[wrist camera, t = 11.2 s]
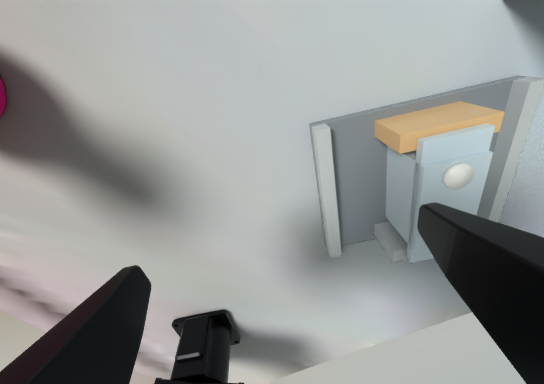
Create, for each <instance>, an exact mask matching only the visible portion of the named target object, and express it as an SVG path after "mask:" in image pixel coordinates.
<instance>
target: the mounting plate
mask: <svg viewBox="0 0 544 384" xmlns="http://www.w3.org/2000/svg"><path fill="white" fill-rule="evenodd" d="M543 88H544V78H537V77H526V76H514V77H509V78H505V79H501V80H496V81H492V82H488V83H483V84H479V85H475V86H471V87H466V88H462V89H458V90H453V91H449V92H445V93H440V94H436V95H432V96H427V97H423V98H419V99H414V100H410V101H406V102H401V103H397V104H393V105H388V106H384V107H380V108H375V109H371V110H367V111H362V112H358V113H354V114H349V115H345V116H341V117H337V118H332V119H328V120H324V121H319V122H315V123H311V124H309V125H310V133H311V140H312V148H313V155H314V163H315V170H316V178H317V185H318V193H319V200H320V208H321V215H322V223H323V230H324V238H325V244H326V247H327V249H328V252H329V254H330V257H331V258H334V257H339V256H342V254H341V246H344V245H348V244H353V243H358V242H363V241H368V240H373V239H378V241H379V242H380V244H381V245H382V247H383V248H384V250H385V251H386V253H387V254H388V256H389V257H390V259H391V261H392V262H398V261H403V260H408V259H407V258H406V256H407V246H408V244H407V242H406V241H405V240H404V239H403V237H402V236H401V235H400V234H399V232H398V231H397V230H396V229H395V228H394V226H393V225H392V224H391V223H390V221H389V220H388V219H387V218H386V216H385V215H386V180H387V146H389V147H390V148H392V149H393V150H395V151H396V152H397V153H399V154H401V153H406V152H410V151H415V150H417V139H419V138H423V137H427V136H432V135H436V134H441V133H445V132H449V131H454V130H458V129H463V128H467V127H471V126H476V125H480V124H484V123H488V124H491V125H494V126H495V129H494V132H493V136H492V140H491V144H490V148H489V151H491V152H493V155H492V159H491V162H490V166H489V170H488V174H487V177H486V181H485V185H484V189H483V192H482V196H481V200H480V204H479V207H478V211H477V215H476V216H479V217H482V218H485V219H488V220H492V221H495V222H499V219H500V216H501V213H502V210H503V207H504V204H505V201H506V198H507V195H508V192H509V189H510V186H511V183H512V180H513V177H514V174H515V171H516V168H517V165H518V162H519V160H520V157H521V154H522V151H523V148H524V145H525V142H526V139H527V136H528V133H529V130H530V127H531V124H532V121H533V118H534V115H535V112H536V109H537V106H538V103H539V100H540V97H541V94H542V91H543Z"/></svg>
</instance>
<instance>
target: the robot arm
mask: <svg viewBox="0 0 544 384" xmlns="http://www.w3.org/2000/svg"><path fill="white" fill-rule="evenodd" d="M417 229H418V232H419V234H420V236H421V237H422V239H423V241H424V242H425V244H426V245H427V247H428V249H429V250H430V252H431V254H432V255H433V257H434V259H435V260H436V262H437V264H438V265H439V267H440V269H441V270H442V272H443V273H444V275H445V276H446V278H447V279H448V281H449V282H450V283H451V285H452V286H453V287H454V289H455V290H456V291H457V293H458V294H459V295H460V297H461V298H462V299H463V300H464V302H465V303H466V304H467V306H468V307H469V308H470V310H471V311H472V312H473V314H474V315H475V316H476V317H477V319H478V320H479V321H480V323H481V324H482V325H483V327H484V328H485V329H486V331H487V332H488V333H489V335H490V336H491V337H492V339H493V340H494V341H495V343H496V344H497V345H498V347H499V348H500V349H501V351H502V352H503V353H504V355H505V356H506V357H507V359H508V360H509V361H510V362H511V364H512V365H513V366H514V368H515V369H516V370H517V372H518V373H519V374H520V376H521V377H522V378H523V380H524V381H525V382H526V384H544V238H543V237H540V236H537V235H534V234H531V233H528V232H525V231H522V230H519V229H516V228H513V227H510V226H507V225H504V224H501V223H498V222H495V221H492V220H488V219H485V218H482V217H479V216H476V215H473V214H470V213H467V212H464V211H461V210H458V209H455V208H452V207H449V206H446V205H443V204H440V203H437V202H432V203H427V204H423V205H421V206H420V208H419V214H418V223H417ZM150 292H151V283H150V281H149V279H148V278H147V276H146V275H145V273H144V272H143V271H142V269H141V268H140V267H139V266H137V265H134V266H130V267H125V268H123V269H122V270H120V271H119V272H118V273H117V274H116V275H115V276H113V277H112V278H111V279H110V280H109V281H107V282H106V283H105V284H104V285H103V286H101V287H100V288H99V289H98V290H97V291H96V292H94V293H93V294H92V295H91V296H90V297H88V298H87V299H86V300H85V301H84V302H82V303H81V304H80V305H79V306H78V307H77V308H75V309H74V310H73V311H72V312H71V313H69V314H68V315H67V316H66V317H65V318H63V319H62V320H61V321H60V322H59V323H58V324H56V325H55V326H54V327H53V328H52V329H50V330H49V331H48V332H47V333H46V334H45V335H43V336H42V337H41V338H40V339H39V340H37V341H36V342H35V343H34V344H33V345H32V346H30V347H29V348H28V349H27V350H25V351H24V352H23V353H22V354H21V355H20V356H18V357H17V358H16V359H15V360H14V361H12V362H11V363H10V364H9V365H8V366H6V367H5V368H4V369H3V370H2V371H1V372H0V384H129V382H130V379H131V375H132V372H133V368H134V365H135V361H136V358H137V354H138V351H139V347H140V343H141V339H142V335H143V331H144V325H145V320H146V314H147V309H148V303H149V298H150ZM172 327H173V328H174V330H175V331H176V332H177V334H178V335H179V336H180V341H179V344H178V348H177V352H176V356H175V363H174V367H173V371H172V375H171V379H170V380H166V379H162V378H156V380H155V383H154V384H237V383H228V373H229V359H230V346H231V345H235V344H239V343H240V337H239V335H238V333H237V331H236V329H235V327H234V325H233V323H232V321H231V319H230V317H229V315H228V313H227V312H226V311H224V310H222V311H217V312H212V313H206V314H201V315H196V316H191V317H186V318H181V319H176V320H174V321H173V322H172ZM238 384H244V383H238Z"/></svg>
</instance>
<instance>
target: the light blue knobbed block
mask: <svg viewBox="0 0 544 384" xmlns="http://www.w3.org/2000/svg"><path fill="white" fill-rule="evenodd" d="M494 129H495V126H494V125H491V124H488V123H484V124H480V125H476V126H471V127H467V128H463V129H458V130H454V131H449V132H445V133H441V134H436V135H432V136H427V137H423V138H419V139H417V150H415V151H410V152H406V153H401V154H399V153H397V152H396V151H395V150H393V149H392V148H390V147H389V146H387V180H386V215H385V216H386V218H387V219H388V220H389V221H390V223H391V224H392V225H393V226H394V228H395V229H396V230H397V231H398V232H399V234H400V235H401V236H402V237H403V239H404V240H405V241H406V242H407V244H408V246H407V256H406V258H407V259H408V260H409V262H410V263H414V262H419V261H424V260H429V259H434V257H433V255H432V254H431V252H430V250H429V249H428V247H427V245H426V244H425V242H424V241H423V239H422V237H421V236H420V234H419V232H418V229H417V223H418V214H419V208H420V206H421V205H423V204H427V203H432V202H437V203H440V204H443V205H446V206H449V207H452V208H455V209H458V210H461V211H464V212H467V213H470V214H473V215H477V211H478V207H479V204H480V200H481V196H482V192H483V189H484V185H485V181H486V177H487V174H488V170H489V166H490V162H491V159H492V155H493V152H491V151H489V148H490V144H491V140H492V136H493V132H494Z"/></svg>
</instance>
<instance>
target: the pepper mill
mask: <svg viewBox="0 0 544 384" xmlns="http://www.w3.org/2000/svg"><path fill="white" fill-rule="evenodd" d="M5 103H6V94H5V89H4V85H3V83H2V80H1V78H0V116H1V115H2V113H3V111H4V109H5Z"/></svg>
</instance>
